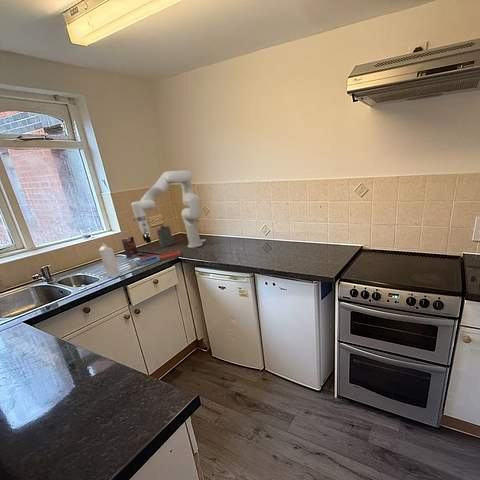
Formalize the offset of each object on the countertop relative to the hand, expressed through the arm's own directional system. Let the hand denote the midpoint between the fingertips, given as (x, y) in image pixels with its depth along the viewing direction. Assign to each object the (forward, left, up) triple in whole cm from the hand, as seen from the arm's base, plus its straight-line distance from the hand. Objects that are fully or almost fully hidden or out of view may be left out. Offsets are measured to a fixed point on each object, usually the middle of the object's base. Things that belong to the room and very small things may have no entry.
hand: (147, 241), depth 222 cm
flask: (-19, -35, -14) cm, 42 cm away
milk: (+28, +17, -14) cm, 36 cm away
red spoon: (+2, -9, -14) cm, 17 cm away
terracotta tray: (-12, +4, -14) cm, 19 cm away
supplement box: (+11, -22, -14) cm, 28 cm away
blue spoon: (+3, +4, -14) cm, 14 cm away
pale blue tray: (+4, +4, -14) cm, 15 cm away
